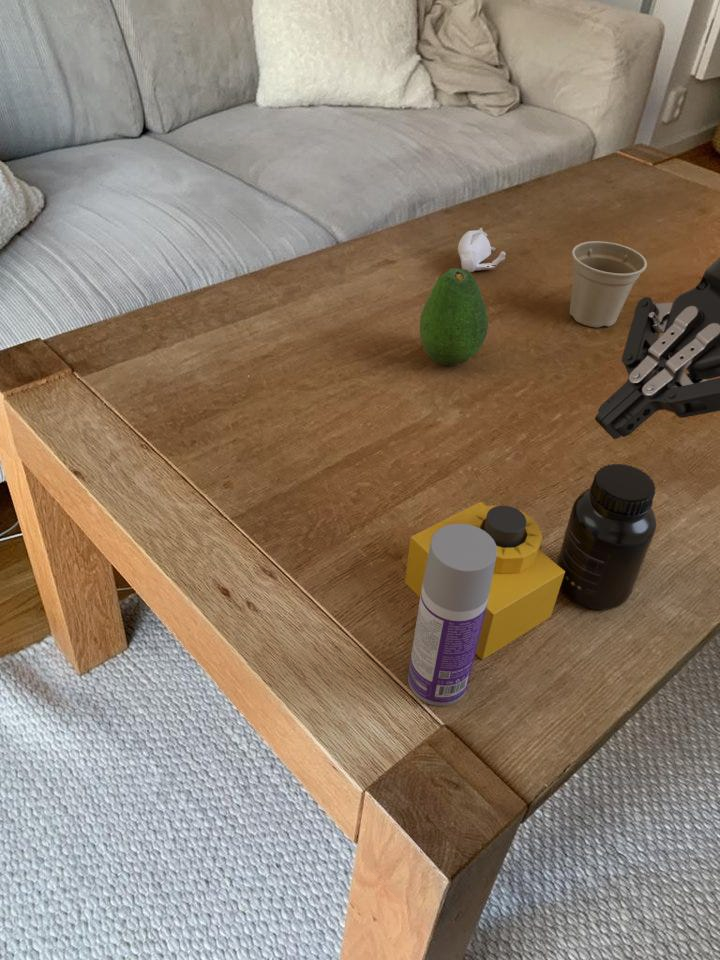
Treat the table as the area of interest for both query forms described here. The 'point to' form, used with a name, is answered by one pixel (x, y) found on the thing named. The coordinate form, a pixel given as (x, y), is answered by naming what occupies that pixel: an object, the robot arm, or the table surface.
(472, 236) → the figurine
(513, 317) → the table surface
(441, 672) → the container
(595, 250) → the flower pot
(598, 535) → the supplement bottle
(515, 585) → the yellow knob cube
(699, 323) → the robot arm
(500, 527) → the dark grey push button
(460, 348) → the fruit
